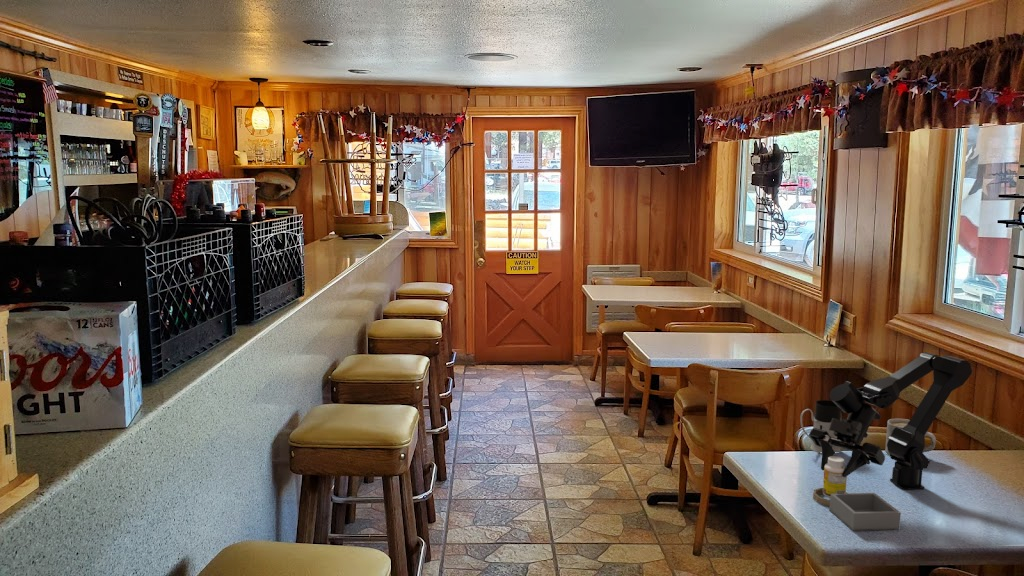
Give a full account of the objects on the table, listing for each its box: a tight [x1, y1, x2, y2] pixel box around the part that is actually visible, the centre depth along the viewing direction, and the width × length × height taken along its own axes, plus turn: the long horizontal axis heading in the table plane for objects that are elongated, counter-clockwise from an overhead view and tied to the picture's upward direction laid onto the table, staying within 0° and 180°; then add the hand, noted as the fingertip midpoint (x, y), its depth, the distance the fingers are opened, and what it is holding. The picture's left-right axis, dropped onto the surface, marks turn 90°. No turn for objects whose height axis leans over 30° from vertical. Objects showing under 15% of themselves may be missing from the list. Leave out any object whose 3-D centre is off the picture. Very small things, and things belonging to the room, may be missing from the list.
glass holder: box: [799, 399, 842, 453], centre depth 236 cm, size 9×14×15 cm, turn 107°
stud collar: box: [812, 487, 848, 508], centre depth 199 cm, size 9×9×2 cm
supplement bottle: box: [822, 455, 848, 499], centre depth 198 cm, size 6×6×10 cm
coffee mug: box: [884, 418, 937, 456], centre depth 232 cm, size 13×10×10 cm
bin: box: [829, 492, 902, 532], centre depth 187 cm, size 12×12×4 cm
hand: (832, 473), depth 197 cm, fingers closed on supplement bottle, 5 cm apart
